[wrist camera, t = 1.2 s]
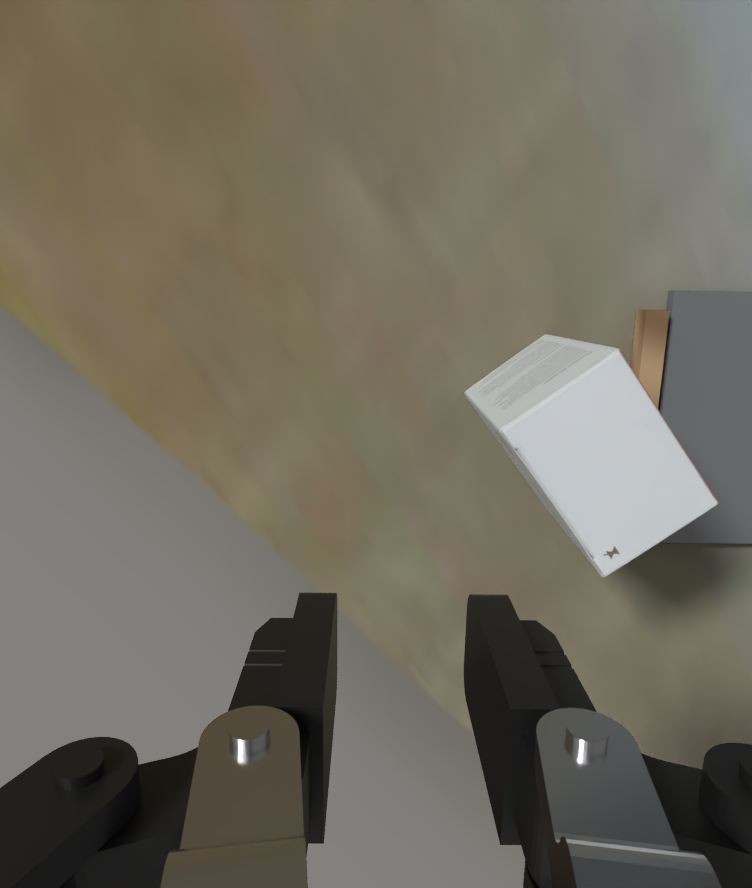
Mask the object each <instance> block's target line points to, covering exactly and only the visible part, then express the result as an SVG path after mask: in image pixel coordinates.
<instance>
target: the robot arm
mask: <svg viewBox="0 0 752 888" xmlns="http://www.w3.org/2000/svg"><path fill="white" fill-rule="evenodd" d="M464 688H465V697H466V702H467V707H468V711H469V715H470V719H471V723H472V728H473V732H474V736H475V740H476V744H477V749H478V753H479V757H480V761H481V765H482V769H483V774H484V778H485V782H486V787H487V791H488V795H489V799H490V803H491V807H492V811H493V816H494V820H495V824H496V829H497V833H498V837H499V841H500V845H521V846H522V849H523V853H524V856H525V868H524V880H523V888H752V745H749V744H742V743H725V744H720V745H717V746H714V747H712V748H711V749H709V751H708V752H707V753H706V755H705V757H704V763H703V769H702V770H701V769H697V768H692V767H688V766H684V765H679V764H675V763H671V762H666V761H662V760H659V759H655V758H652V757H649V756H647V755H644V754H642V753H641V752H640V750H639V747H638V745H637V742H636V741H635V739H634V737H633V736H632V735H631V733H630V732H629V731H628V730H627V729H626V728H625V727H623V726H622V725H621V724H619V723H618V722H617V721H615V720H613V719H611V718H610V717H607V716H605V715H603V714H600V713H598V712H596V710H595V708H594V706H593V704H592V702H591V701H590V699H589V697H588V695H587V693H586V691H585V690H584V688H583V686H582V684H581V682H580V680H579V679H578V677H577V675H576V673H575V671H574V669H572V668H571V664H570V662H569V660H568V658H567V657H566V655H564V651H563V649H562V647H561V646H560V644H559V642H558V640H557V638H556V636H555V635H554V634H553V633H552V632H550V631H549V630H548V629H546V628H545V627H544V626H542V625H541V624H540V623H539V622H537V621H531V620H519V618H518V616H517V614H516V612H515V609H514V607H513V605H512V603H511V601H510V599H509V597H508V595H469V597H468V602H467V617H466V636H465V655H464ZM336 690H337V593H299V597H298V601H297V605H296V609H295V613H294V617H293V618H271V619H269V620H268V621H267V622H266V623H265V624H264V625H263V626H262V627H260V628H259V629H258V630H257V631H256V632H255V634H254V637H253V640H252V643H251V646H250V650H249V652H248V655H247V658H246V661H245V666H243V669H242V672H241V675H240V678H239V681H238V684H237V687H236V690H235V693H234V695H233V698H232V701H231V704H230V707H229V710H228V712H226V713H224V714H222V715H220V716H219V717H217V718H216V719H214V720H213V721H212V722H211V723H210V724H209V725H208V726H207V727H206V728H205V729H204V731H203V733H202V735H201V737H200V741H199V745H198V747H197V748H195V749H193V750H192V751H189V752H187V753H184V754H181V755H178V756H174V757H171V758H166V759H162V760H157V761H153V762H148V763H145V764H140V765H138V757H137V754H136V751H135V750H134V748H132V746H131V745H130V744H128V743H127V742H124V741H122V740H119V739H116V738H110V737H95V738H87V739H83V740H79V741H75V742H72V743H69V744H67V745H64V746H62V747H60V748H58V749H56V750H54V751H52V752H51V753H49V754H48V755H46V756H44V757H43V758H42V759H40V760H39V761H37V762H36V763H35V764H33V765H32V766H30V767H29V768H28V769H26V770H25V771H23V772H22V773H21V774H19V775H18V776H17V777H15V778H14V779H12V780H11V781H9V782H8V783H7V784H6V785H4V786H3V787H1V788H0V888H308V883H307V861H306V857H307V847H308V843H324V834H325V833H324V832H325V822H326V810H327V798H328V787H329V775H330V764H331V751H332V740H333V728H334V717H335V705H336Z"/></svg>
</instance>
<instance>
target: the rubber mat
mask: <svg viewBox="0 0 752 888" xmlns="http://www.w3.org/2000/svg"><path fill="white" fill-rule="evenodd" d="M667 311H670V312H669V321H668V329H667V337H666V346H665V354H664V362H663V371H662V379H661V387H660V396H659V404H658V409H659V411H660V413H661V414H662V416H663V417H664V419H665V420H666V422H667V423H668V425H669V426H670V428H671V430H672V431H673V433H674V434H675V436H676V437H677V439H678V440H679V442H680V443H681V445H682V446H683V448H684V450H685V451H686V453H687V454H688V456H689V457H690V459H691V460H692V462H693V463H694V465H695V466H696V468H697V469H698V471H699V473H700V474H701V476H702V477H703V479H704V480H705V482H706V483H707V485H708V486H709V488H710V489H711V491H712V493H713V494H714V496H715V497H716V499H717V500H718V504H717V505H716V506H715V507H713V508H711V509H710V510H708V511H707V512H705V513H704V514H703V515H701V516H700V517H698V518H696V519H695V520H693V521H692V522H690V523H689V524H687V525H686V526H684V527H683V528H681V529H679V530H678V531H676V532H675V533H673V534H672V535H670V536H668V537H667V538H665V539H664V540H662V541H661V542H659V543H741V544H752V292H712V291H669V295H668V303H667Z"/></svg>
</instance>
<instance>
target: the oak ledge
mask: <svg viewBox="0 0 752 888" xmlns="http://www.w3.org/2000/svg"><path fill="white" fill-rule="evenodd" d="M669 312H670V311H667V310H637V314H636V323H635V332H634V341H633V351H632V360H631V368H632V369H633V371H634V372H635V374H636V375H637V377H638V378H639V380H640V382H641V383H642V385H643V386H644V388H645V389H646V391H647V392H648V394H649V396H650V397H651V399H652V400H653V402H654V403H655V405H656V406H657V408H658V404H659V396H660V387H661V379H662V371H663V362H664V354H665V346H666V337H667V329H668V321H669Z"/></svg>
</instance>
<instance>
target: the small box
mask: <svg viewBox="0 0 752 888" xmlns="http://www.w3.org/2000/svg"><path fill="white" fill-rule="evenodd" d="M464 394H465V396H466V397H467V398H468V400H469V401H470V403H471V404H472V405H473V407H474V408H475V409H476V411H477V412H478V414H479V415H480V416H481V418H482V419H483V421H484V422H485V424H486V425H487V426H488V428H489V429H490V431H491V432H492V433H493V435H494V436H495V437H496V439H497V440H498V442H499V443H500V444H501V446H502V447H503V449H504V450H505V451H506V453H507V454H508V456H509V457H510V459H511V460H512V461H513V463H514V464H515V466H516V467H517V468H518V470H519V471H520V473H521V474H522V476H523V477H524V478H525V480H526V481H527V483H528V484H529V485H530V487H531V488H532V490H533V491H534V492H535V494H536V495H537V497H538V498H539V499H540V501H541V502H542V503H543V505H544V506H545V507H546V509H547V510H548V511H549V512H550V514H551V515H552V516H553V517H554V519H555V520H556V521H557V522H558V524H559V525H560V526H561V527H562V529H563V530H564V531H565V532H566V534H567V535H568V536H569V537H570V539H571V540H572V541H573V542H574V543H575V544H576V546H577V547H578V548H579V549H580V550H581V552H582V553H583V554H584V555H585V557H586V558H587V559H588V560H589V561H590V563H591V564H592V565H593V566H594V568H595V569H596V570H597V571H598V573H599V574H600V575H601V577H606V576H607V575H609V574H611V573H612V572H614V571H615V570H617V569H619V568H620V567H622V566H623V565H625V564H627V563H628V562H630V561H631V560H633V559H634V558H636V557H637V556H639V555H641V554H642V553H644V552H645V551H647V550H648V549H650V548H651V547H653V546H655V545H656V544H658V543H659V542H661V541H662V540H664V539H665V538H667V537H668V536H670V535H672V534H673V533H675V532H676V531H678V530H679V529H681V528H683V527H684V526H686V525H687V524H689V523H690V522H692V521H693V520H695V519H696V518H698V517H700V516H701V515H703V514H704V513H705V512H707V511H708V510H710V509H711V508H713V507H715V506H716V505H717V504H718V500H717V499H716V497H715V496H714V494H713V493H712V491H711V489H710V488H709V486H708V485H707V483H706V482H705V480H704V479H703V477H702V476H701V474H700V473H699V471H698V469H697V468H696V466H695V465H694V463H693V462H692V460H691V459H690V457H689V456H688V454H687V453H686V451H685V450H684V448H683V446H682V445H681V443H680V442H679V440H678V439H677V437H676V436H675V434H674V433H673V431H672V430H671V428H670V426H669V425H668V423H667V422H666V420H665V419H664V417H663V416H662V414H661V413H660V411H659V409H658V408H657V406H656V405H655V403H654V402H653V400H652V399H651V397H650V396H649V394H648V392H647V391H646V389H645V388H644V386H643V385H642V383H641V382H640V380H639V378H638V377H637V375H636V374H635V372H634V371H633V369H632V368H631V366H630V365H629V363H628V362H627V360H626V359H625V357H624V355H623V354H622V352H621V350H620V349H618V348H615V347H609V346H604V345H599V344H594V343H589V342H584V341H578V340H573V339H568V338H563V337H558V336H552V335H547V334H546V335H544V336H542V337H541V338H539V339H538V340H536V341H535V342H534V343H532V344H531V345H529V346H528V347H526V348H525V349H523V350H522V351H521V352H519V353H518V354H516V355H515V356H514V357H512V358H511V359H509V360H508V361H507V362H505V363H504V364H502V365H501V366H500V367H498V368H497V369H495V370H494V371H493V372H491V373H490V374H488V375H487V376H486V377H484V378H483V379H481V380H480V381H479V382H477V383H476V384H474V385H473V386H472V387H470V388H469V389H468V390H466V391H465V393H464Z"/></svg>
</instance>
